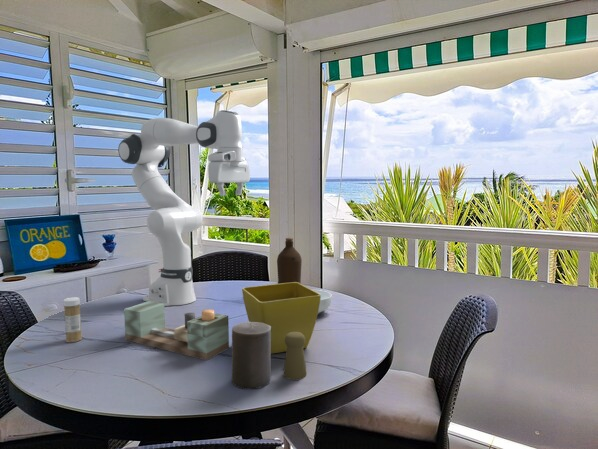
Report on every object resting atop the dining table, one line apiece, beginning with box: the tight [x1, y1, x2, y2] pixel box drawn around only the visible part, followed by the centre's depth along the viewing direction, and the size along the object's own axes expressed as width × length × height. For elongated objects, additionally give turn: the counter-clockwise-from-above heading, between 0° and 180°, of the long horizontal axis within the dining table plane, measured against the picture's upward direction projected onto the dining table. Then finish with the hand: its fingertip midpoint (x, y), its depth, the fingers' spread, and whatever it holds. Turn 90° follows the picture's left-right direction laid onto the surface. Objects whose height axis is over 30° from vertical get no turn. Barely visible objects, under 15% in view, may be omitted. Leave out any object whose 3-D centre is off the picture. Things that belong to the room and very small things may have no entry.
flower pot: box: [241, 282, 321, 354], centre depth 134 cm, size 19×19×17 cm
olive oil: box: [276, 237, 303, 284], centre depth 190 cm, size 11×11×25 cm
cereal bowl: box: [312, 289, 333, 315], centre depth 166 cm, size 17×17×7 cm
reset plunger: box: [201, 308, 215, 322], centre depth 128 cm, size 4×4×4 cm
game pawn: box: [283, 332, 307, 381], centre depth 113 cm, size 6×6×11 cm
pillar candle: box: [231, 321, 272, 390], centre depth 110 cm, size 10×10×15 cm
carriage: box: [173, 312, 196, 343], centre depth 131 cm, size 6×7×8 cm
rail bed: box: [123, 301, 230, 361], centre depth 134 cm, size 33×10×10 cm, turn 61°
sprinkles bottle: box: [62, 296, 83, 343], centre depth 137 cm, size 5×5×14 cm
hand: (230, 195), depth 158 cm, fingers open, 8 cm apart
